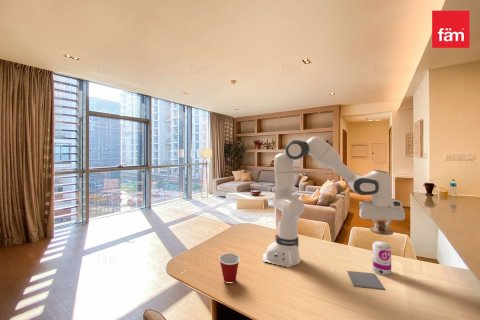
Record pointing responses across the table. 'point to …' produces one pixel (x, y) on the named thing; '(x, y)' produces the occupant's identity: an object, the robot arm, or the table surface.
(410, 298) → the table surface
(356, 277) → the mat
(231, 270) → the plastic cup
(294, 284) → the table surface
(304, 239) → the table surface
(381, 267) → the supplement can
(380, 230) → the lid
